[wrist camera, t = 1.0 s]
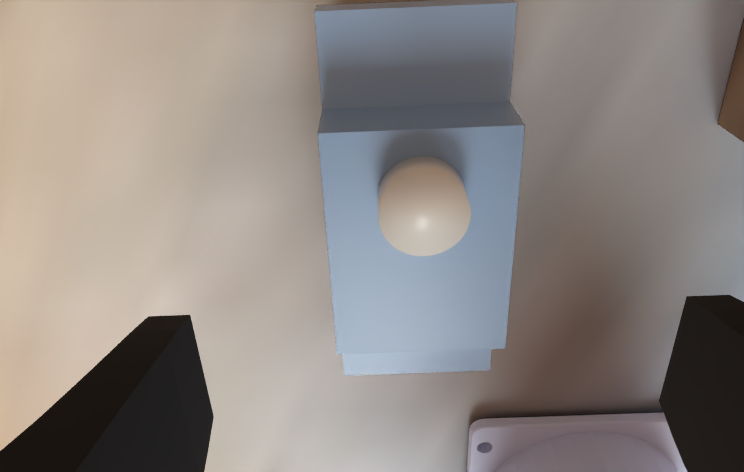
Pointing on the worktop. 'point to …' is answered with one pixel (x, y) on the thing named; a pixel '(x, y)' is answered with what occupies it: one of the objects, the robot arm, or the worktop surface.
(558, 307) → the worktop surface
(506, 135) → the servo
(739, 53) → the board
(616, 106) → the worktop surface
